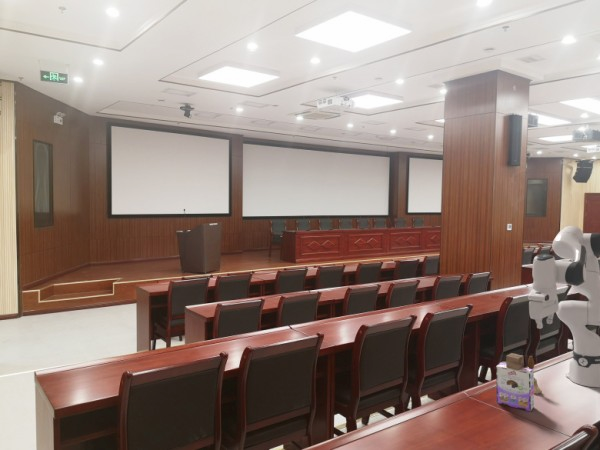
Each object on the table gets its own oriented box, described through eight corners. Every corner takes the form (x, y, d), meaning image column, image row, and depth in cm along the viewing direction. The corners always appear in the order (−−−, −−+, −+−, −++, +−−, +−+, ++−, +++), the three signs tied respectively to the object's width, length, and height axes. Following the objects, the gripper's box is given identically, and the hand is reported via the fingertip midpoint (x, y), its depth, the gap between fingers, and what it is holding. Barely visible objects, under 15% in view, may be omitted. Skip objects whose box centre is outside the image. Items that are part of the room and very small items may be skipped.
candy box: (534, 407, 184) (534, 369, 183) (530, 412, 179) (530, 373, 179) (500, 398, 193) (500, 361, 192) (496, 402, 189) (495, 365, 188)
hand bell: (545, 393, 197) (544, 358, 196) (526, 393, 197) (526, 359, 196) (535, 386, 205) (535, 352, 205) (517, 386, 205) (517, 353, 205)
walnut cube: (511, 364, 189) (511, 353, 189) (523, 367, 185) (523, 355, 185) (506, 367, 186) (506, 355, 186) (518, 370, 182) (518, 358, 182)
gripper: (546, 288, 190) (547, 319, 191) (525, 296, 178) (526, 329, 178) (562, 290, 185) (562, 322, 186) (542, 298, 173) (542, 332, 173)
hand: (544, 325), depth 182 cm, fingers open, 8 cm apart
